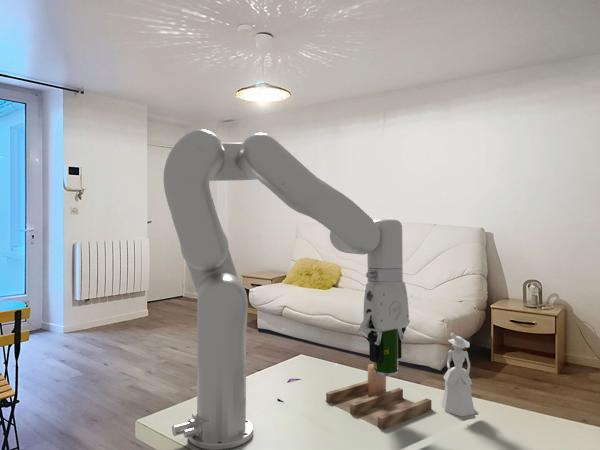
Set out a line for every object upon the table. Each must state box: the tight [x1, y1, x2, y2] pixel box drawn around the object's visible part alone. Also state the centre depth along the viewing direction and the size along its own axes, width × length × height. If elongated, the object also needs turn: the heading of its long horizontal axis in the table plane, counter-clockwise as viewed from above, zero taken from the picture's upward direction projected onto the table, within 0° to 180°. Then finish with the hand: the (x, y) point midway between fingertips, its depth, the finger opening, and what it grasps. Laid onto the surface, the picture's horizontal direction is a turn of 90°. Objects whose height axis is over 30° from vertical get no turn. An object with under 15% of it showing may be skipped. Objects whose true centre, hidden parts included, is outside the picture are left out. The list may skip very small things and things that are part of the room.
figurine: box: [440, 332, 476, 422], centre depth 95 cm, size 7×8×18 cm
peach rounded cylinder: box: [367, 363, 387, 397], centre depth 102 cm, size 4×4×7 cm
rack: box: [325, 380, 433, 431], centre depth 97 cm, size 16×18×3 cm
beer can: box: [372, 329, 399, 377], centre depth 92 cm, size 5×5×12 cm
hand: (385, 358), depth 92 cm, fingers closed on beer can, 5 cm apart
